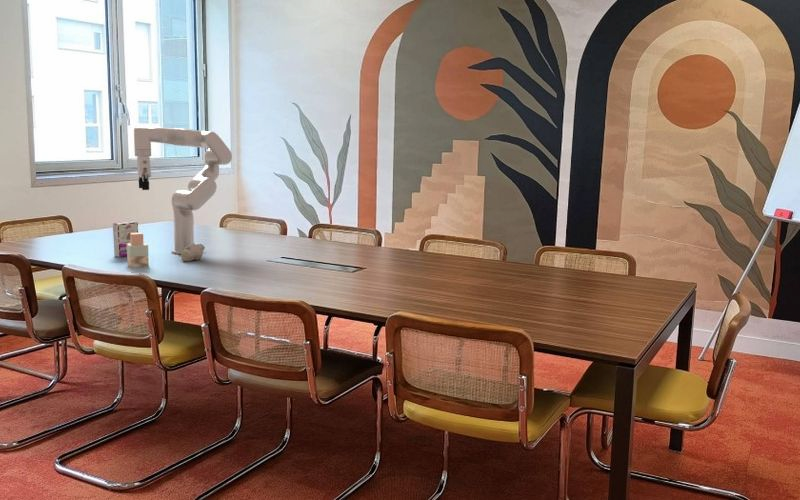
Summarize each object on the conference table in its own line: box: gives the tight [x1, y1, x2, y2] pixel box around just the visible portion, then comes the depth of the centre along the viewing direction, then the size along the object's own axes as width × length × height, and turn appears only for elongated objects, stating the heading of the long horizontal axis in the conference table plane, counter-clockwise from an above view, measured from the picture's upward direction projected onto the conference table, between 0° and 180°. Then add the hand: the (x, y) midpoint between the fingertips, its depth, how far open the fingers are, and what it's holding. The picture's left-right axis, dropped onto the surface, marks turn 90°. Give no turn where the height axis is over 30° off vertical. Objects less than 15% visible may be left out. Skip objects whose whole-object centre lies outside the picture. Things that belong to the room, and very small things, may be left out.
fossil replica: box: [180, 243, 206, 262], centre depth 376 cm, size 12×8×10 cm
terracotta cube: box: [130, 232, 144, 245], centre depth 358 cm, size 5×5×5 cm
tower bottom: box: [126, 255, 150, 269], centre depth 360 cm, size 8×8×5 cm
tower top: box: [127, 242, 149, 257], centre depth 359 cm, size 8×8×5 cm
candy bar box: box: [112, 220, 139, 258], centre depth 383 cm, size 11×5×16 cm, turn 143°
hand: (144, 189), depth 376 cm, fingers open, 9 cm apart
